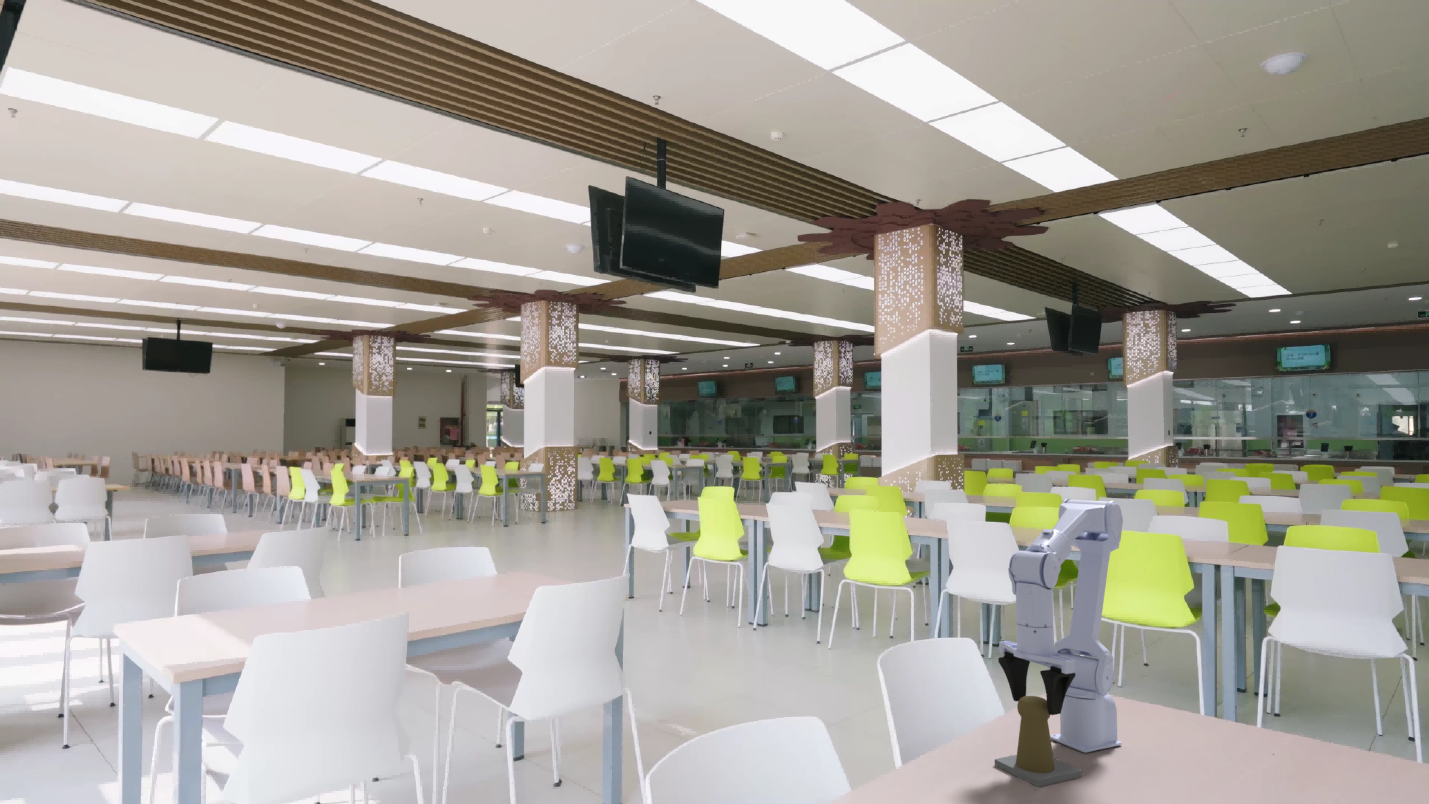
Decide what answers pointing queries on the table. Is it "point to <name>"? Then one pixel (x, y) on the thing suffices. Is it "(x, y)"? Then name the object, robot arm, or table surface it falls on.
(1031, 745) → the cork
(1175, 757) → the table surface
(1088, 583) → the robot arm
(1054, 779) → the mat
